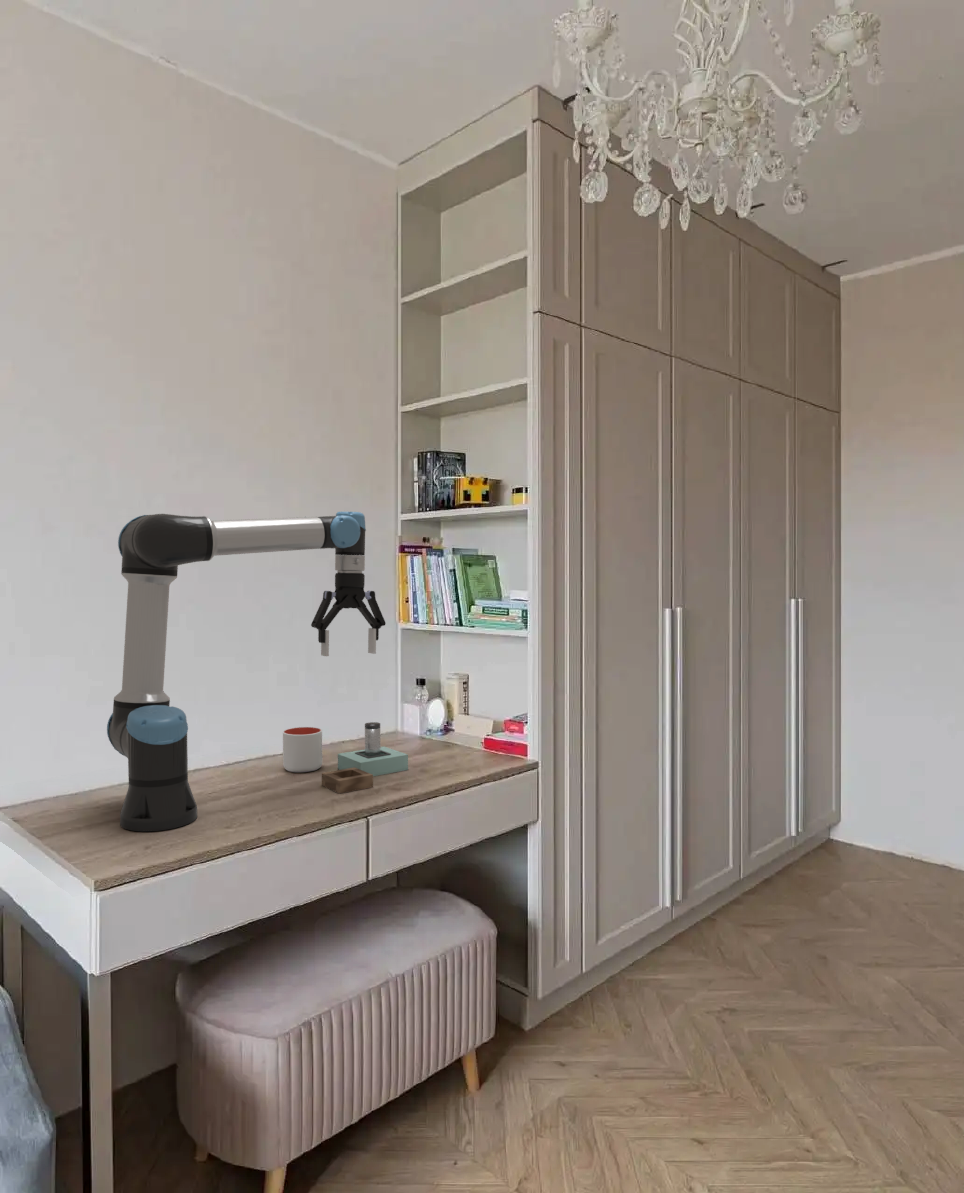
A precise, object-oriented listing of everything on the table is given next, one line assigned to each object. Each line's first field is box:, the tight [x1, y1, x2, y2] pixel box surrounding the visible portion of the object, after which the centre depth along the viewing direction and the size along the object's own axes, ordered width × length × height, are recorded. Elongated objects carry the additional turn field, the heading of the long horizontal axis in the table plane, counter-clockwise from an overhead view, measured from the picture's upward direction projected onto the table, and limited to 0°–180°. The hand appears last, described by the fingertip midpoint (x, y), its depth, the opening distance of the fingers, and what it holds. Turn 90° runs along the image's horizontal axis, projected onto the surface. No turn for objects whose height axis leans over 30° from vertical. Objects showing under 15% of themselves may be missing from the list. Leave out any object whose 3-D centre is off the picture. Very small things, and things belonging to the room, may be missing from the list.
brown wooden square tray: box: [321, 767, 374, 794], centre depth 203 cm, size 9×9×3 cm
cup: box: [282, 726, 323, 773], centre depth 219 cm, size 10×10×10 cm
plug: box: [364, 721, 381, 757], centre depth 218 cm, size 4×4×12 cm
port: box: [337, 746, 409, 777], centre depth 219 cm, size 14×12×4 cm
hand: (348, 654), depth 217 cm, fingers open, 13 cm apart
